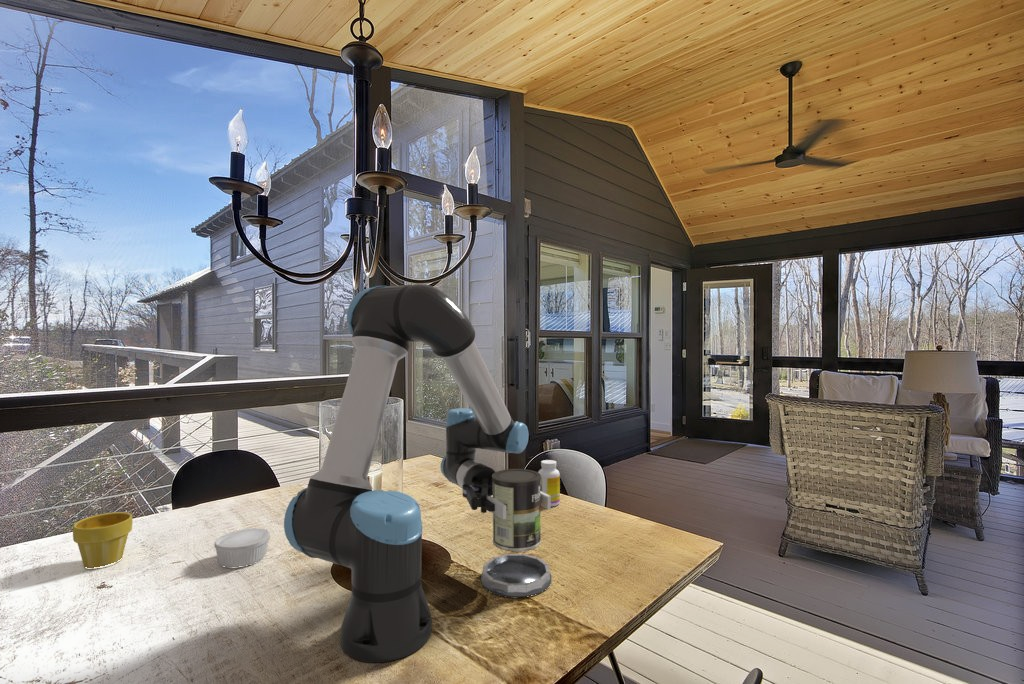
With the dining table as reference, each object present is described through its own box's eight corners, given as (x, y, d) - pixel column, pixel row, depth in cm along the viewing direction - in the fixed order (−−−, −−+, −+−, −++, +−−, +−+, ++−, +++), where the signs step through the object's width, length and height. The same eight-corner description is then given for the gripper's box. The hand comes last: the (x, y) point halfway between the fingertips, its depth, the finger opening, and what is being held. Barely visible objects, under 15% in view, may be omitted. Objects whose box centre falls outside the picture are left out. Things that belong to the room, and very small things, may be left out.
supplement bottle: (563, 502, 152) (563, 460, 152) (553, 508, 146) (553, 465, 146) (544, 498, 156) (544, 458, 155) (533, 504, 150) (534, 462, 150)
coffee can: (544, 533, 108) (544, 469, 108) (537, 554, 98) (537, 483, 98) (498, 529, 110) (498, 467, 110) (486, 549, 100) (486, 480, 100)
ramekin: (224, 551, 117) (224, 529, 117) (275, 547, 120) (274, 525, 120) (206, 574, 107) (206, 549, 106) (263, 568, 109) (263, 544, 109)
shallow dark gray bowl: (503, 605, 94) (503, 593, 94) (469, 573, 107) (469, 562, 107) (565, 585, 102) (565, 574, 101) (526, 557, 114) (526, 547, 114)
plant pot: (137, 562, 112) (136, 519, 112) (76, 578, 104) (75, 532, 104) (128, 548, 119) (127, 508, 119) (70, 563, 111) (70, 520, 111)
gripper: (517, 487, 125) (571, 515, 106) (434, 503, 114) (477, 537, 95) (517, 457, 125) (571, 480, 106) (433, 470, 114) (477, 498, 94)
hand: (527, 507), depth 100 cm, fingers closed on coffee can, 10 cm apart
